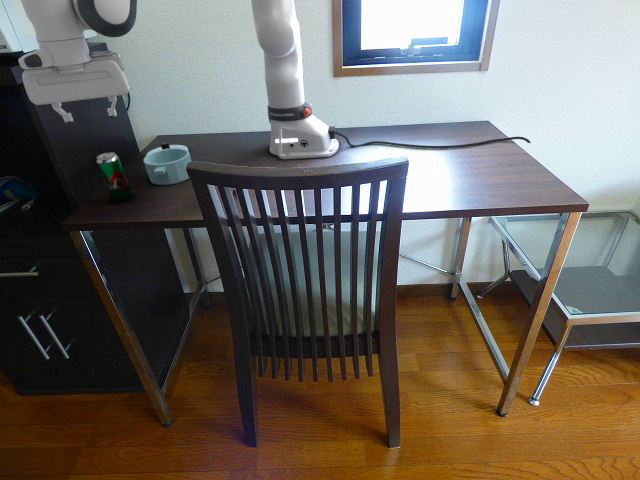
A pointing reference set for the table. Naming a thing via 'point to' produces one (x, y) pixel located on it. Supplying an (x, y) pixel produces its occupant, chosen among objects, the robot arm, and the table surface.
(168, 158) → the pan
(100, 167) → the soda can
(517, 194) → the table surface
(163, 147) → the lid
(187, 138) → the table surface
